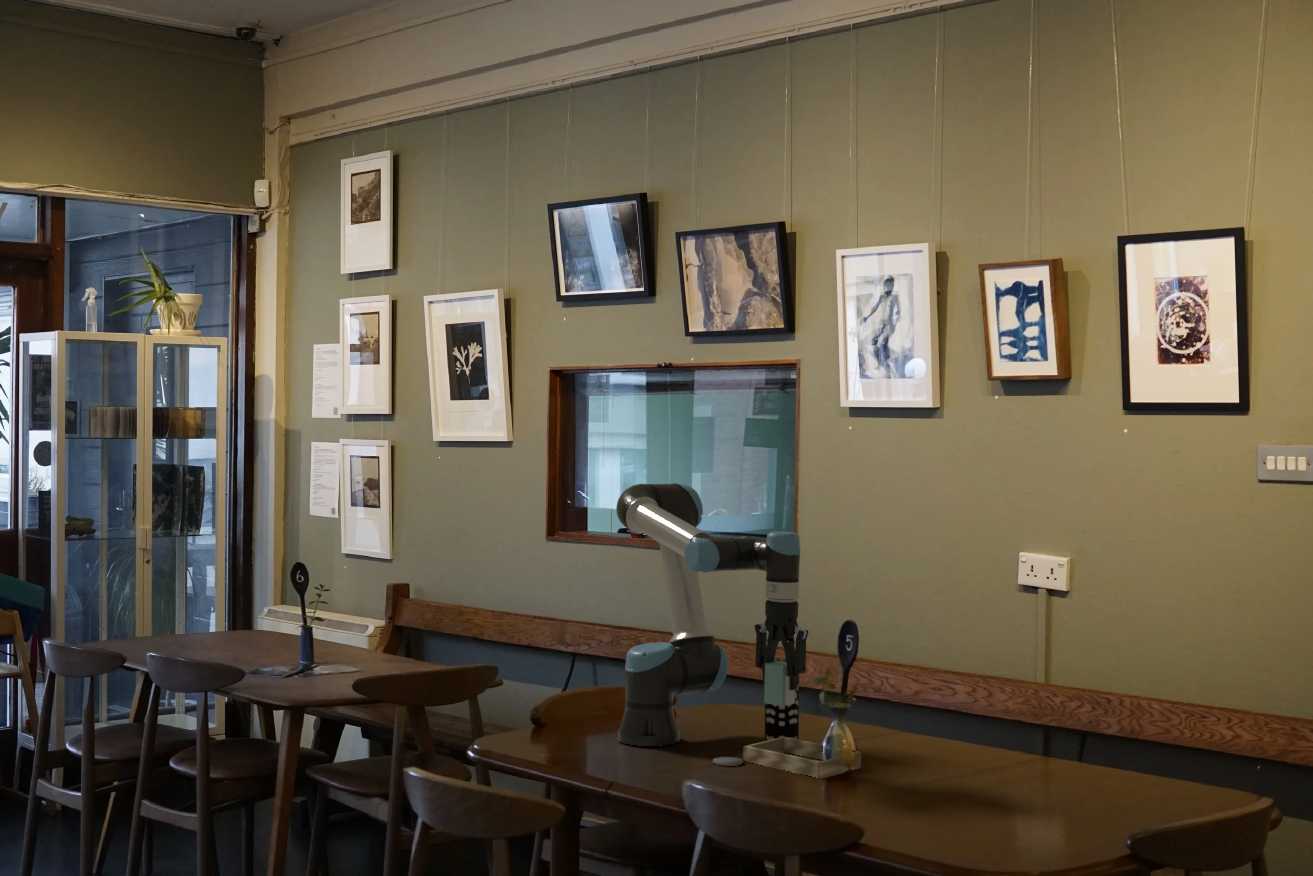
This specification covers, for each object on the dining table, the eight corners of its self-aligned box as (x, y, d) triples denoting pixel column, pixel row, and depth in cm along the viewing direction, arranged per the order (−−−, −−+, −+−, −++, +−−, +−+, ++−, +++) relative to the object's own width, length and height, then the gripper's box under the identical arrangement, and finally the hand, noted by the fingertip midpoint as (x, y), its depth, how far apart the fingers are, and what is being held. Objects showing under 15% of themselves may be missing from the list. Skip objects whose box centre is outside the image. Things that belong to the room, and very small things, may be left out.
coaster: (706, 763, 284) (706, 760, 284) (726, 758, 289) (726, 755, 289) (729, 768, 279) (730, 765, 279) (749, 763, 284) (749, 760, 284)
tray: (743, 761, 285) (743, 746, 285) (783, 751, 296) (783, 736, 296) (821, 779, 270) (821, 763, 270) (860, 767, 281) (861, 752, 281)
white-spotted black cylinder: (798, 740, 309) (799, 659, 310) (798, 747, 301) (799, 664, 301) (764, 738, 310) (765, 658, 310) (764, 746, 302) (765, 663, 302)
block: (764, 702, 284) (765, 663, 284) (777, 699, 288) (778, 660, 288) (781, 706, 281) (782, 666, 281) (794, 703, 285) (795, 663, 285)
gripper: (740, 597, 288) (738, 698, 288) (805, 605, 276) (802, 710, 276) (760, 594, 293) (757, 693, 293) (824, 602, 281) (821, 705, 281)
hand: (779, 701), depth 284 cm, fingers closed on block, 5 cm apart
